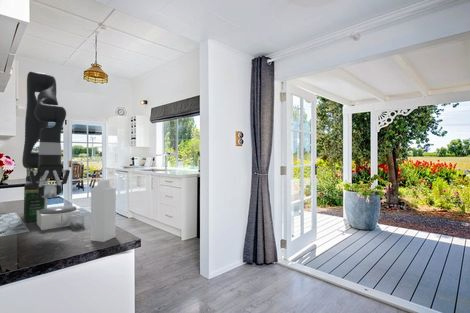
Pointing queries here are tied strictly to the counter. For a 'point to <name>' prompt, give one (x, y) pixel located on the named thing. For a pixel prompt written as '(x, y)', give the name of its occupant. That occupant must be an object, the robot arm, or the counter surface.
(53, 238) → the counter surface
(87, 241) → the counter surface
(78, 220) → the cylinder
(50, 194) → the steel spacer
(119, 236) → the counter surface
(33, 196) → the coffee jar
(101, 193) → the milk
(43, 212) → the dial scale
